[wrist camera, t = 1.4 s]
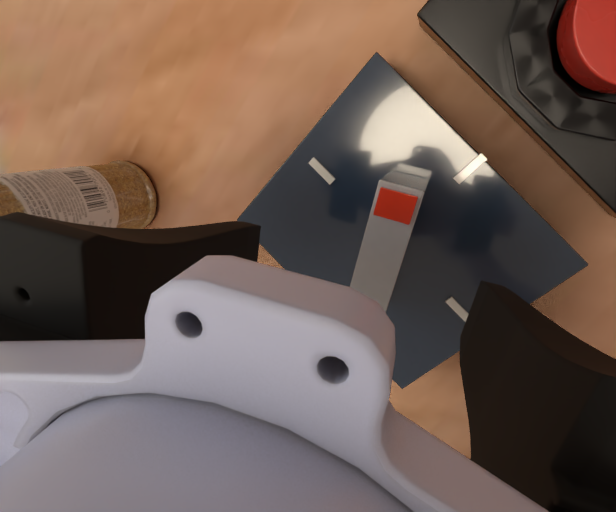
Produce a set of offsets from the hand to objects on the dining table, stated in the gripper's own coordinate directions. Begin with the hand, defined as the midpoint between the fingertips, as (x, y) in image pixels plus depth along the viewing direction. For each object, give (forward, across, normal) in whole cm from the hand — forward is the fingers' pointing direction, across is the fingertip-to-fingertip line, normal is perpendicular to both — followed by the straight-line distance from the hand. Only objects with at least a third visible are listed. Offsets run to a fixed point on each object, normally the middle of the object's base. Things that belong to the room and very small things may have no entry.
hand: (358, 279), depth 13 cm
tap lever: (+6, -1, 0) cm, 6 cm away
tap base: (+9, -1, 0) cm, 9 cm away
